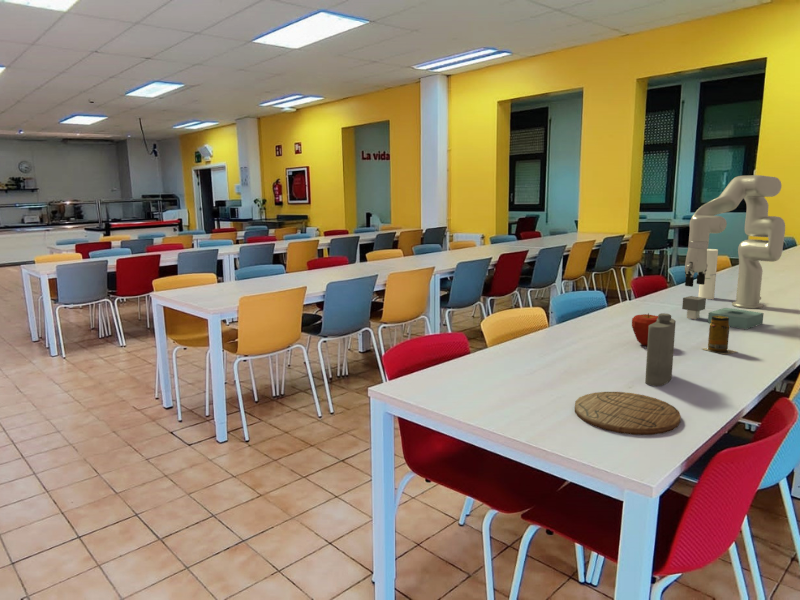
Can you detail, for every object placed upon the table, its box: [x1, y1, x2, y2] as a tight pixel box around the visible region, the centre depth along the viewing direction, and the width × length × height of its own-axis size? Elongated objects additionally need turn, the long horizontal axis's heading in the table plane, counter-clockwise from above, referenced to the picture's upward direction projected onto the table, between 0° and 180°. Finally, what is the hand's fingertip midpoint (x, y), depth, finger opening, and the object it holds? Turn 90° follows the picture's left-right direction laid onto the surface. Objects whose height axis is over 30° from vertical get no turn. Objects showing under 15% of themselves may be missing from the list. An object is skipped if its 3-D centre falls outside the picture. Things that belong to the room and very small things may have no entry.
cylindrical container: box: [697, 248, 719, 300], centre depth 286 cm, size 7×7×25 cm
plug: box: [682, 295, 707, 320], centre depth 245 cm, size 7×7×9 cm
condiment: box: [702, 316, 738, 355], centre depth 196 cm, size 7×8×12 cm
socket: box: [707, 307, 764, 330], centre depth 235 cm, size 15×15×4 cm
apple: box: [631, 312, 658, 346], centre depth 205 cm, size 11×11×12 cm
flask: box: [644, 312, 677, 387], centre depth 167 cm, size 15×6×20 cm, turn 144°
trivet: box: [574, 391, 682, 436], centre depth 143 cm, size 25×25×2 cm
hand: (694, 285), depth 243 cm, fingers open, 9 cm apart
